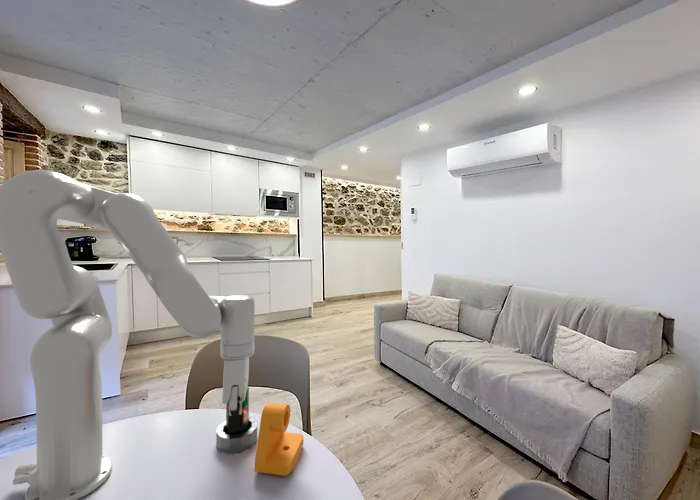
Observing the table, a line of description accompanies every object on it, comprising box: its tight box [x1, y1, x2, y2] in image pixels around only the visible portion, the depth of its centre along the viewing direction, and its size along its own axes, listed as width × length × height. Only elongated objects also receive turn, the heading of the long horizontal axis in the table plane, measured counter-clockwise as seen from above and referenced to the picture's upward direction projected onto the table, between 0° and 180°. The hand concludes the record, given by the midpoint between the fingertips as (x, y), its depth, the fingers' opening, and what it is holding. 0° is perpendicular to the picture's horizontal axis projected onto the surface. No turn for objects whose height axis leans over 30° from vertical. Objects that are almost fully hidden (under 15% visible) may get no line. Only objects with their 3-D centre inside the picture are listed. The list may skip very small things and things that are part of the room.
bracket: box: [254, 402, 304, 477], centre depth 68 cm, size 11×7×12 cm, turn 171°
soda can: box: [225, 386, 250, 435], centre depth 74 cm, size 5×5×12 cm
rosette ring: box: [215, 416, 258, 455], centre depth 74 cm, size 9×9×4 cm
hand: (237, 422), depth 74 cm, fingers closed on soda can, 5 cm apart
